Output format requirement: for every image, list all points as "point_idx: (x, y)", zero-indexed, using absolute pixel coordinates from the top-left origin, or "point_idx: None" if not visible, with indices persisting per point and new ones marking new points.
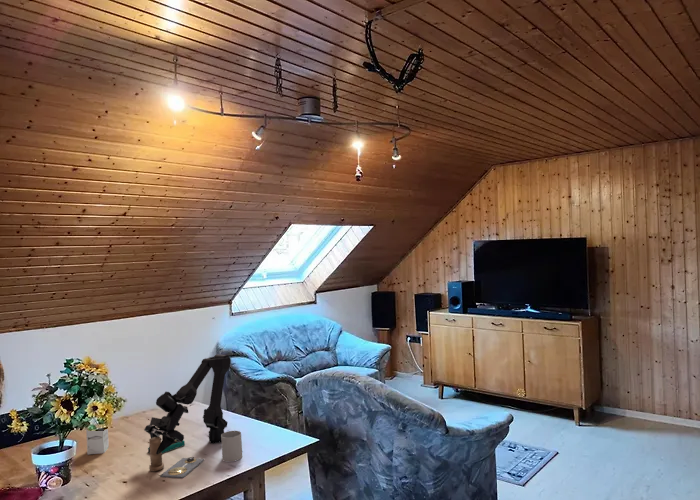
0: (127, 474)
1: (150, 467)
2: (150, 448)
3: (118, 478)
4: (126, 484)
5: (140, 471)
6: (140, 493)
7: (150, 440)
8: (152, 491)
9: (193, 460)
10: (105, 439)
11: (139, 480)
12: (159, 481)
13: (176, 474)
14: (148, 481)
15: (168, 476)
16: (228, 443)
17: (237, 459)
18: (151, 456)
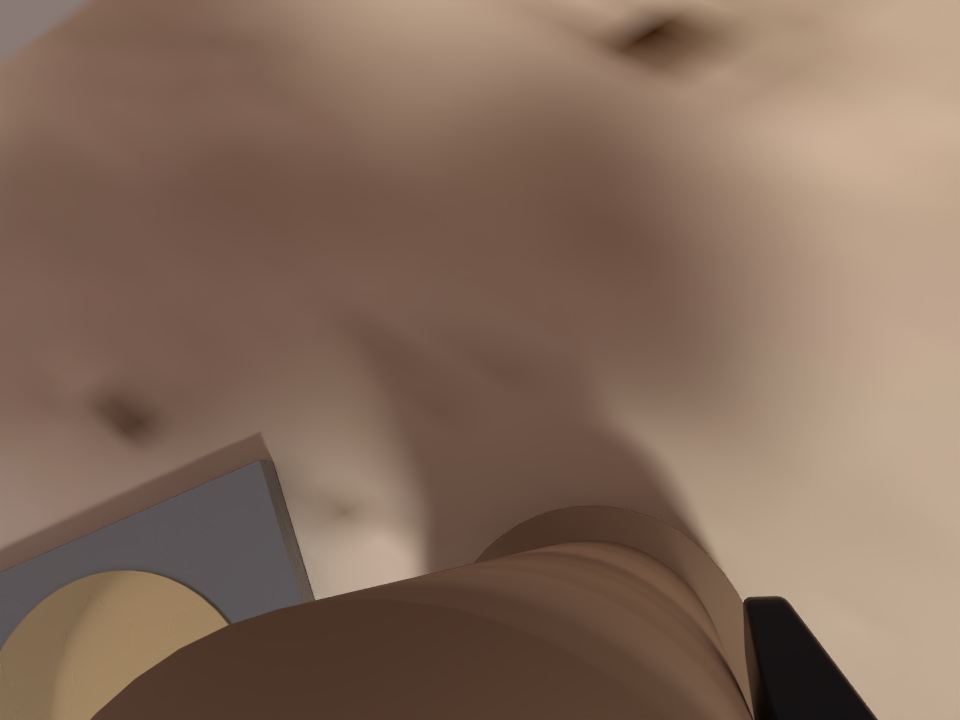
0: (943, 203)
1: (607, 513)
2: (533, 564)
3: (915, 24)
4: (539, 9)
5: (837, 423)
6: (115, 9)
7: (416, 649)
8: (20, 128)
9: None
10: None
11: (478, 199)
12: (159, 355)
13: (31, 624)
14: (312, 261)
15: (123, 520)
16: None
17: None
18: (551, 550)
